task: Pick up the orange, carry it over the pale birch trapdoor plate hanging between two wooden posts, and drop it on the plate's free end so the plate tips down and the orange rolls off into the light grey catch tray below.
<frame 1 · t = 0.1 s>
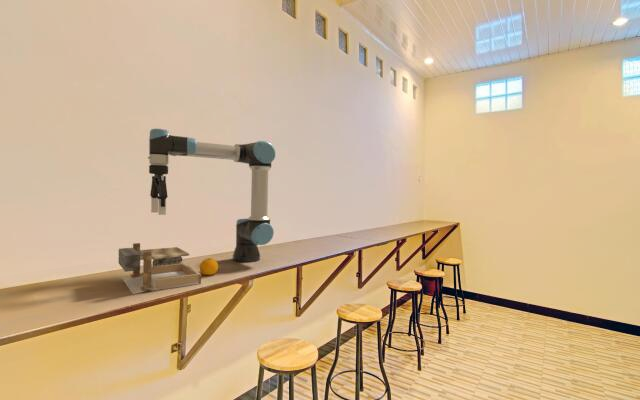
hand: (158, 213, 147), 28 cm above the bar counter, fingers open, 13 cm apart
rock: (167, 269, 162), on the bar counter
trapdoor: (153, 256, 138), point 11 cm above the bar counter, hinge at 0.0°
gallows posts: (141, 284, 136), resting on catch tray
catch tray: (160, 281, 140), on the bar counter
orange: (208, 274, 154), on the bar counter
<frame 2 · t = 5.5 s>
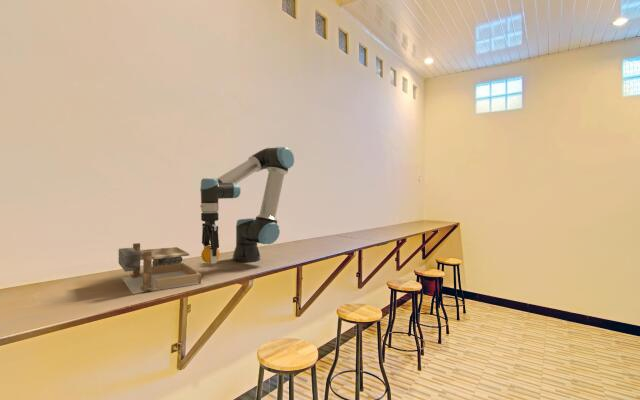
hand: (210, 261, 154), 6 cm above the bar counter, fingers closed on orange, 8 cm apart
orange: (210, 262, 155), point 5 cm above the bar counter, touching gripper
everything else where it was.
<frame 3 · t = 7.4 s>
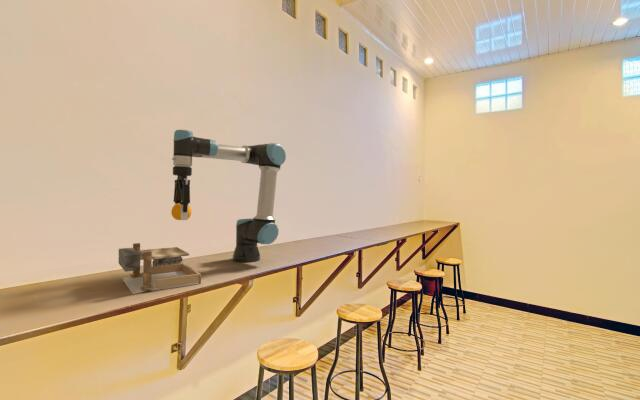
hand: (180, 219, 145), 26 cm above the bar counter, fingers closed on orange, 8 cm apart
orange: (181, 220, 145), point 25 cm above the bar counter, touching gripper
everything else where it was.
when the fingers open (14 cm above the bar counter, at t = 9.8 s): orange drops 10 cm, resting on catch tray.
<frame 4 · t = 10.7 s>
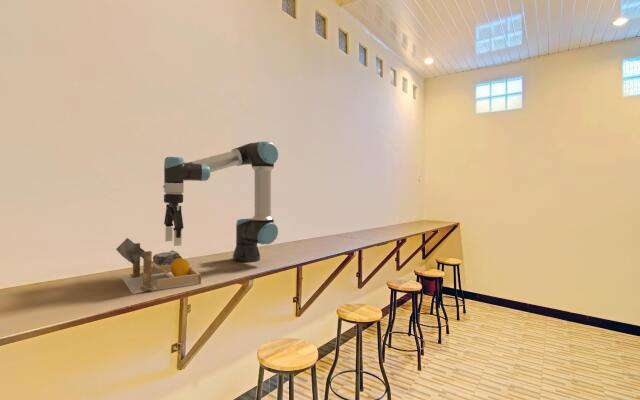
hand: (173, 243, 143), 16 cm above the bar counter, fingers open, 13 cm apart
trapdoor: (148, 263, 137), point 8 cm above the bar counter, hinge at -42.9°
orange: (171, 270, 143), point 4 cm above the bar counter, touching catch tray
everything else where it was.
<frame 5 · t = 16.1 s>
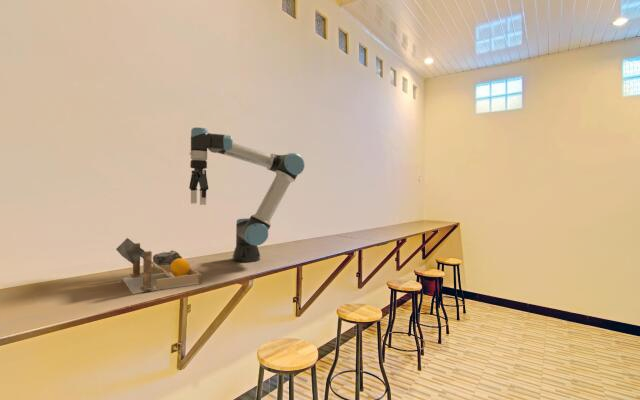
hand: (198, 204, 163), 32 cm above the bar counter, fingers open, 13 cm apart
nothing on the bar counter moved.
at the end: orange point 4.1 cm above the bar counter; orange inside the target area (0.8 cm from its centre), point 4.1 cm above the bar counter; the gripper is holding nothing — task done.
